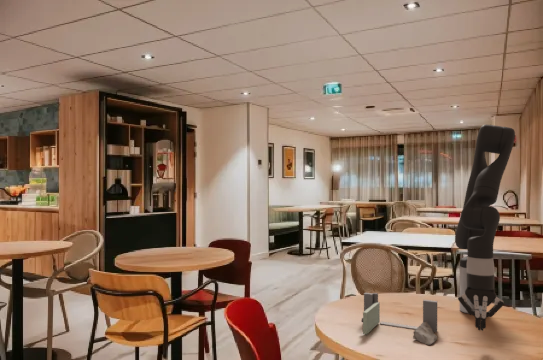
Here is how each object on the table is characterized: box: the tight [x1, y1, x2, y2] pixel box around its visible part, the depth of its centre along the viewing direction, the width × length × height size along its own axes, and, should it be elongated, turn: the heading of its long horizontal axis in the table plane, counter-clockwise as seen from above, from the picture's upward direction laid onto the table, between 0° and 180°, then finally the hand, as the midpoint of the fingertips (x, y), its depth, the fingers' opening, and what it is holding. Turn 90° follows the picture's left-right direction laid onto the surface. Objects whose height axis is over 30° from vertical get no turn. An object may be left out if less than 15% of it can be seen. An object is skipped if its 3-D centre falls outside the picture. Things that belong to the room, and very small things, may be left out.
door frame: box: [363, 292, 438, 333], centre depth 147 cm, size 3×24×10 cm, turn 64°
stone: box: [412, 321, 438, 346], centre depth 136 cm, size 6×12×4 cm, turn 144°
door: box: [361, 301, 381, 335], centre depth 144 cm, size 2×14×7 cm, turn 149°
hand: (480, 329), depth 128 cm, fingers closed
